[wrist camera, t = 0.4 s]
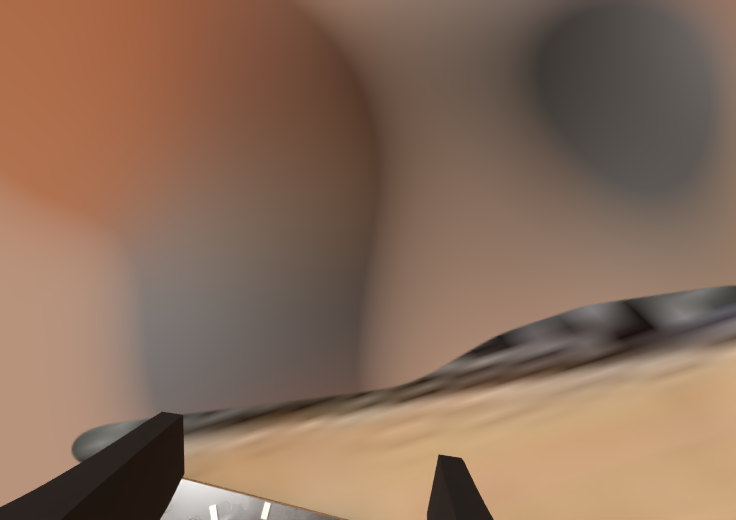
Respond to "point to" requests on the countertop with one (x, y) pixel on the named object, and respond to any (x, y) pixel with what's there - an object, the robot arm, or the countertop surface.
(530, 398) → the countertop surface
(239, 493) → the dial plate
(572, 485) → the countertop surface
